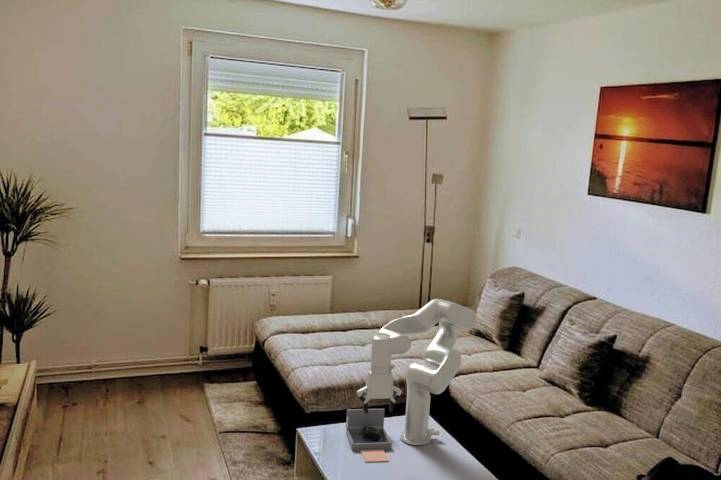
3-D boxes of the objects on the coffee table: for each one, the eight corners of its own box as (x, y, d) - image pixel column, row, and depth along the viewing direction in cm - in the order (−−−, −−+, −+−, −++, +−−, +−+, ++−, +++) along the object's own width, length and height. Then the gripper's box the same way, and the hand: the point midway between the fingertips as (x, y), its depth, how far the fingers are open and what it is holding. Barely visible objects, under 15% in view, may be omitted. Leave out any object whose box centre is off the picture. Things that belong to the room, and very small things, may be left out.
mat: (383, 450, 238) (383, 449, 238) (388, 461, 229) (388, 460, 229) (360, 451, 236) (360, 450, 236) (365, 462, 227) (365, 461, 227)
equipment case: (382, 432, 253) (384, 408, 252) (391, 449, 239) (392, 423, 238) (345, 433, 250) (347, 409, 249) (352, 450, 236) (353, 424, 235)
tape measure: (362, 439, 242) (365, 431, 242) (359, 432, 249) (362, 423, 249) (378, 444, 244) (381, 435, 244) (375, 436, 250) (378, 427, 250)
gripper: (400, 364, 233) (398, 407, 236) (356, 365, 230) (354, 408, 232) (405, 371, 226) (403, 415, 229) (359, 372, 223) (357, 417, 225)
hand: (378, 411), depth 230 cm, fingers open, 9 cm apart
